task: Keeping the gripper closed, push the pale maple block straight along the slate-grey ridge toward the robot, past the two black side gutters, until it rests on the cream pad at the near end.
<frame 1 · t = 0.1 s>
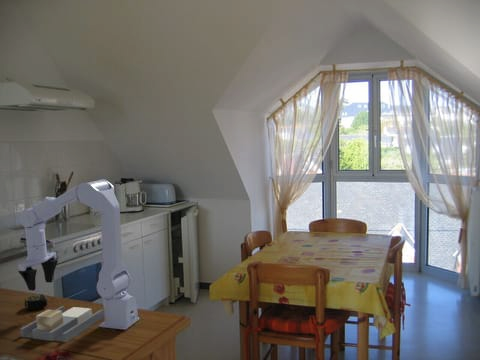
hand: (40, 286, 153), 10 cm above the table, fingers open, 7 cm apart
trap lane: (64, 326, 144), on the table
maple block: (50, 326, 139), point 2 cm above the table, touching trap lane
tape measure: (38, 307, 162), on the table
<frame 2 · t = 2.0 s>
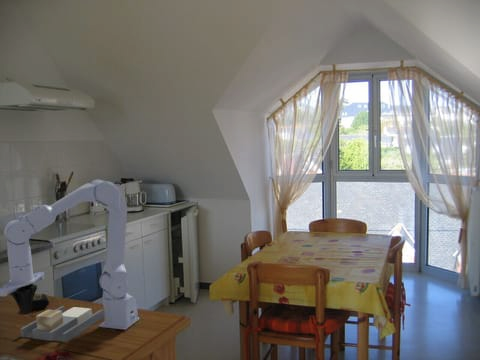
hand: (25, 312, 130), 10 cm above the table, fingers closed
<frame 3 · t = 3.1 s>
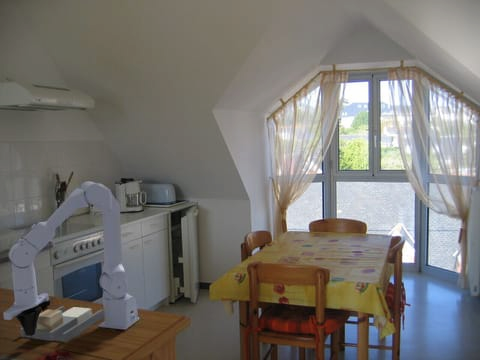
hand: (30, 334, 131), 3 cm above the table, fingers closed
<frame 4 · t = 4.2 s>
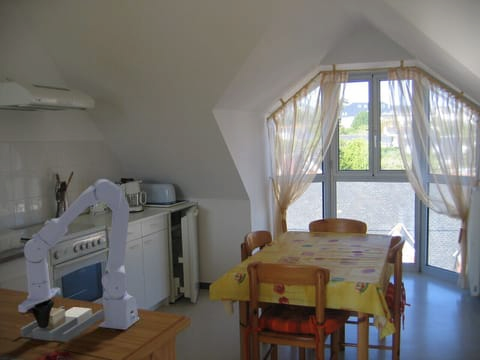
hand: (43, 327, 136), 3 cm above the table, fingers closed
maple block: (53, 324, 140), point 3 cm above the table, touching gripper, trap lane
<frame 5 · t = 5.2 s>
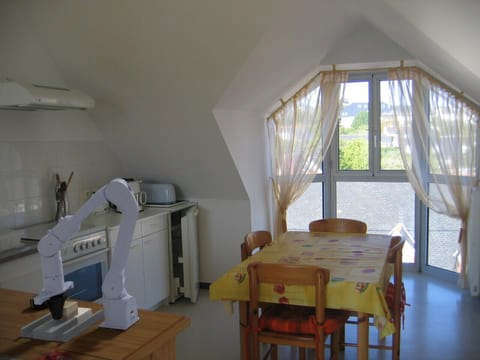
hand: (57, 319, 141), 4 cm above the table, fingers closed
maple block: (66, 316, 145), point 3 cm above the table, touching gripper, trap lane
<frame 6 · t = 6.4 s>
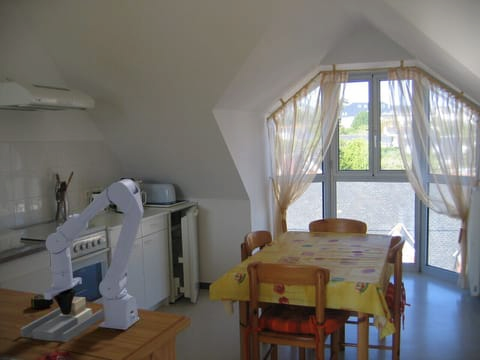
hand: (66, 313, 145), 4 cm above the table, fingers closed
maple block: (74, 312, 149), point 3 cm above the table, touching gripper
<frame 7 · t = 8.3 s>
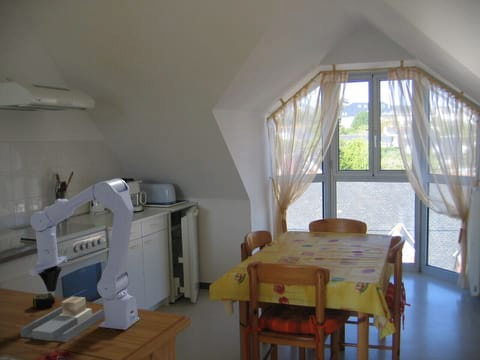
hand: (51, 291, 149), 9 cm above the table, fingers closed
maple block: (74, 312, 149), point 2 cm above the table, touching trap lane
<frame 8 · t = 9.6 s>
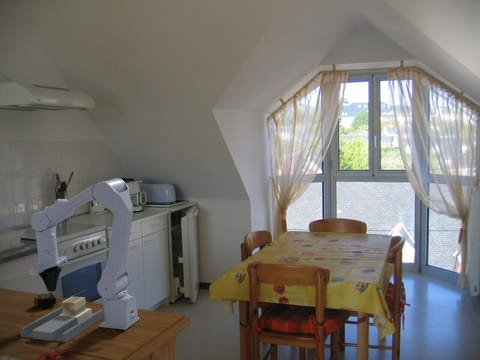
hand: (51, 291, 149), 9 cm above the table, fingers closed
at the end: maple block 0.5 cm from the target spot, point 2.5 cm above the table; maple block tilted 0° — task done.
